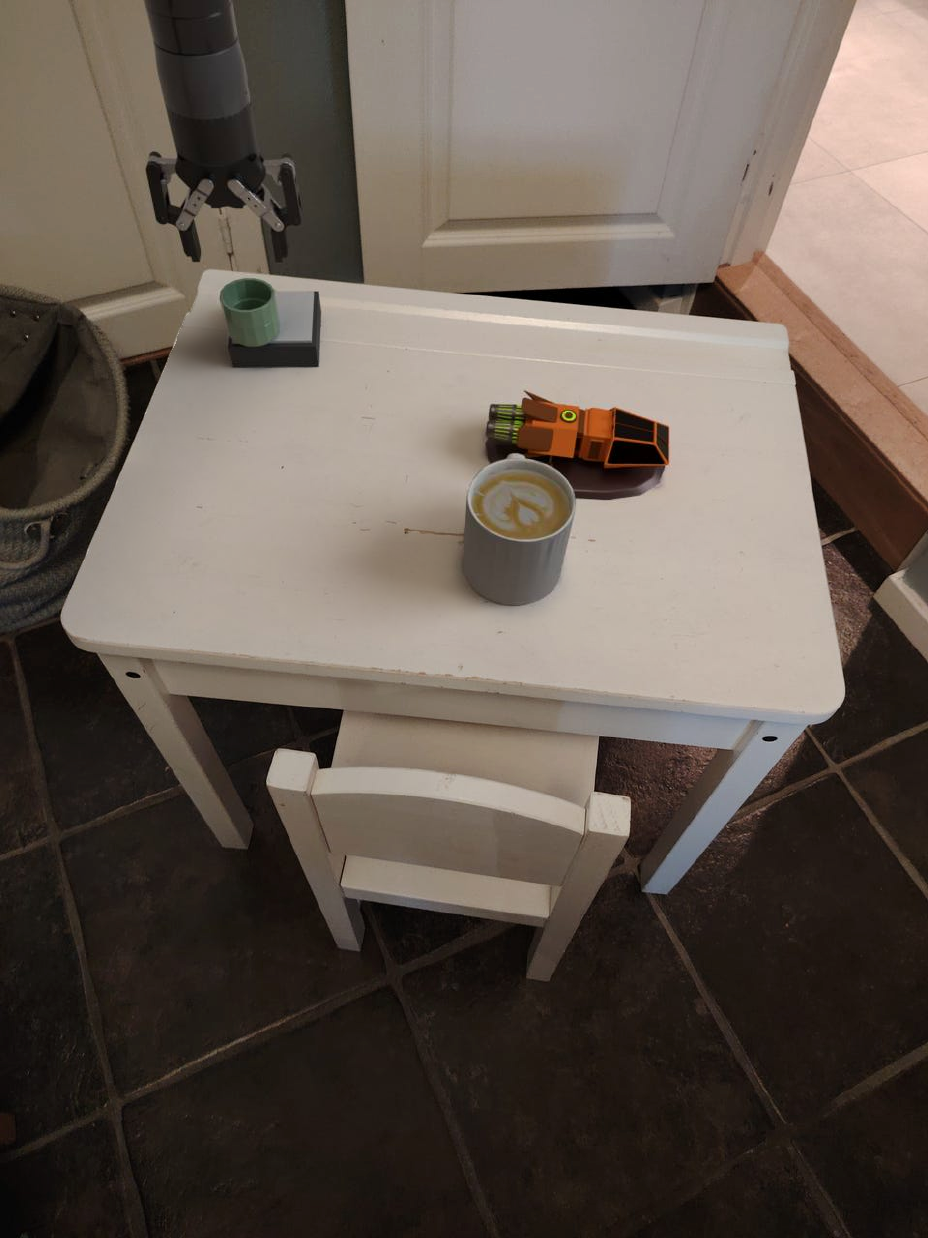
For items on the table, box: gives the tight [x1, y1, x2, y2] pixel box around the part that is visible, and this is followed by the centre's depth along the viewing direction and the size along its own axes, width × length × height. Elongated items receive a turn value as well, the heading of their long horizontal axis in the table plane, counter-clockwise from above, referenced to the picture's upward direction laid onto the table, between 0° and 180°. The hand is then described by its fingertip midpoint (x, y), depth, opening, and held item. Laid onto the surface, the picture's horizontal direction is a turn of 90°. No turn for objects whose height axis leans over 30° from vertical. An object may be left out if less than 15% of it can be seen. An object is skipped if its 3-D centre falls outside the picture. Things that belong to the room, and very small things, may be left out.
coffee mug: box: [461, 453, 577, 606], centre depth 80 cm, size 13×10×10 cm
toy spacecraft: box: [484, 389, 670, 500], centre depth 89 cm, size 12×20×6 cm, turn 82°
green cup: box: [219, 277, 280, 347], centre depth 94 cm, size 6×6×5 cm
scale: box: [227, 290, 322, 369], centre depth 99 cm, size 10×10×3 cm
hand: (238, 258), depth 88 cm, fingers open, 8 cm apart
